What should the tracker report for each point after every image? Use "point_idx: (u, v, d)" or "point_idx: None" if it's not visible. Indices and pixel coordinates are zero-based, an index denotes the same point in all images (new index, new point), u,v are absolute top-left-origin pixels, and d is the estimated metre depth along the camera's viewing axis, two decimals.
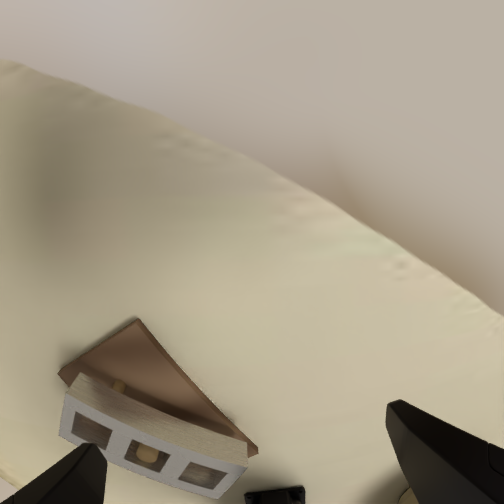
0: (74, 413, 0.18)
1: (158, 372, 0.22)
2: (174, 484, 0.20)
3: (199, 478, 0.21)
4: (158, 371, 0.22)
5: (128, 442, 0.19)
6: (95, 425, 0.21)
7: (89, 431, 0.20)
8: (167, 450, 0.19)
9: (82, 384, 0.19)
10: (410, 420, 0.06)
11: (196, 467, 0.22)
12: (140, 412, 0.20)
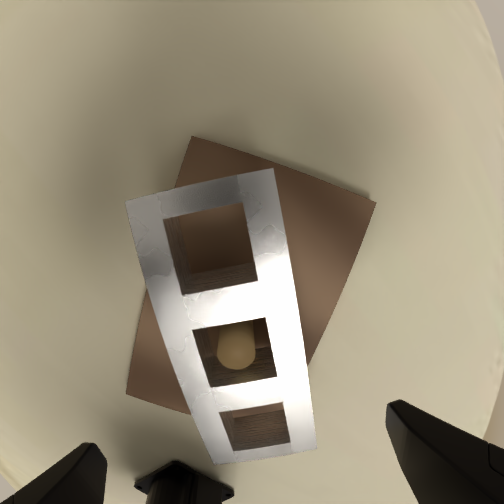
0: (230, 203, 0.12)
1: (327, 267, 0.17)
2: (200, 415, 0.14)
3: (228, 425, 0.15)
4: (329, 266, 0.17)
5: (250, 316, 0.12)
6: (181, 245, 0.14)
7: (176, 245, 0.13)
8: (283, 368, 0.13)
9: None
10: (410, 420, 0.06)
11: None
12: None
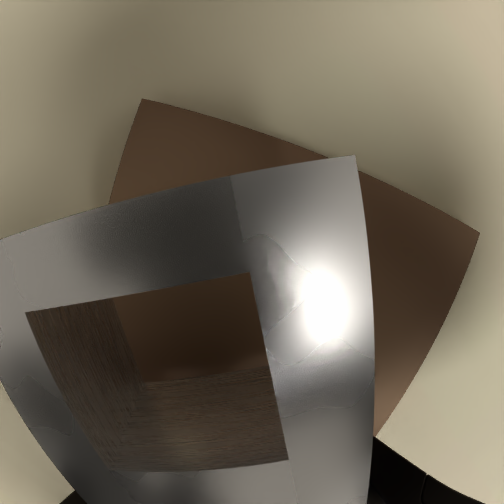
0: (208, 273, 0.03)
1: (397, 347, 0.09)
2: None
3: None
4: (399, 346, 0.09)
5: None
6: (109, 340, 0.06)
7: (87, 353, 0.05)
8: None
9: None
10: None
11: None
12: None
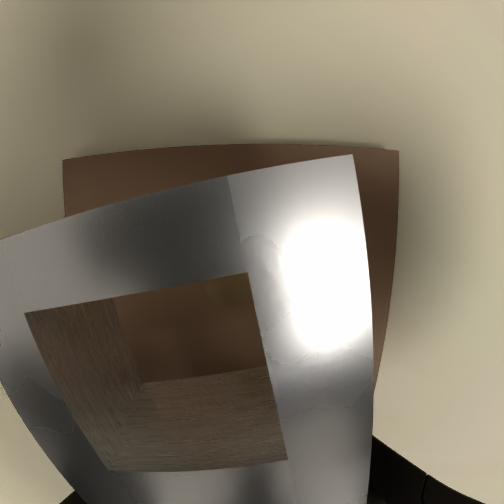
0: (206, 273, 0.03)
1: None
2: None
3: None
4: None
5: None
6: (109, 340, 0.06)
7: (87, 354, 0.05)
8: None
9: None
10: None
11: None
12: None
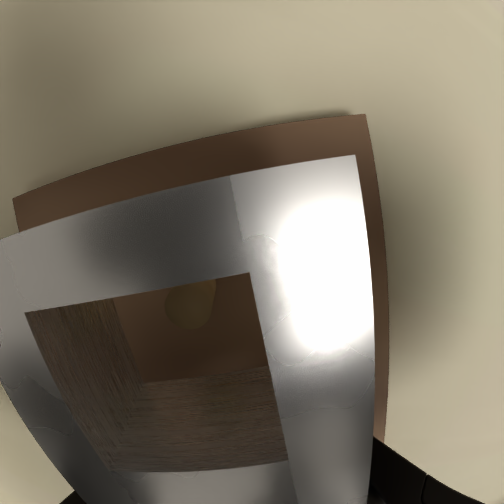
0: (208, 273, 0.03)
1: None
2: None
3: None
4: None
5: None
6: (110, 340, 0.06)
7: (87, 354, 0.05)
8: None
9: None
10: None
11: None
12: None
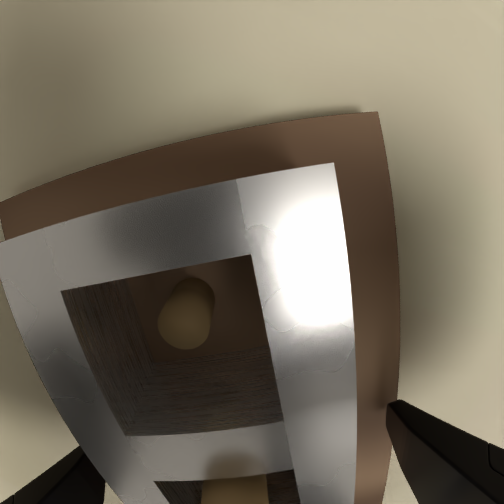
0: (218, 255, 0.04)
1: (352, 290, 0.07)
2: None
3: None
4: (354, 287, 0.07)
5: (263, 470, 0.05)
6: (126, 321, 0.07)
7: (109, 331, 0.06)
8: None
9: None
10: (410, 420, 0.06)
11: None
12: None
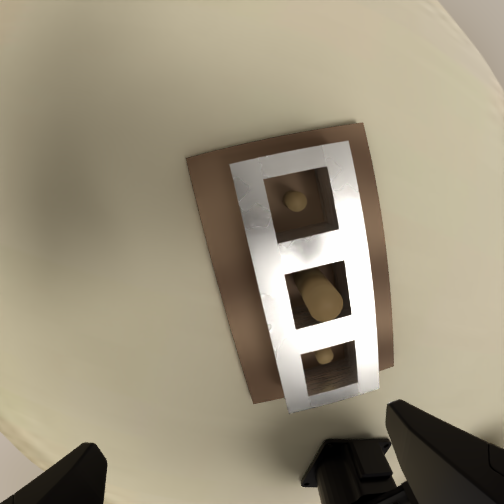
0: (317, 166, 0.14)
1: None
2: (283, 359, 0.16)
3: None
4: None
5: (332, 259, 0.15)
6: None
7: None
8: (356, 306, 0.16)
9: None
10: (410, 420, 0.06)
11: None
12: None
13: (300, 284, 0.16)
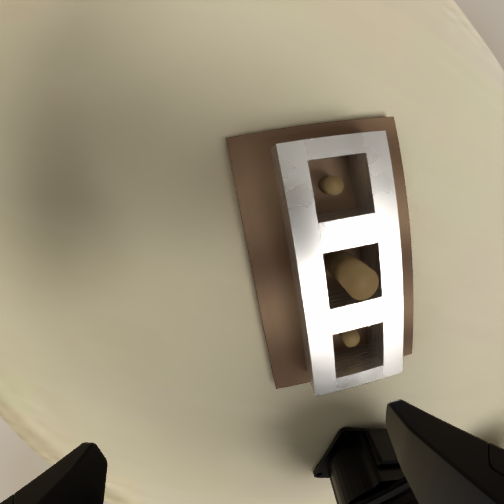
0: (357, 152, 0.14)
1: None
2: (316, 339, 0.16)
3: None
4: None
5: (367, 241, 0.15)
6: None
7: None
8: (387, 288, 0.16)
9: None
10: (410, 420, 0.06)
11: None
12: None
13: (334, 265, 0.17)
